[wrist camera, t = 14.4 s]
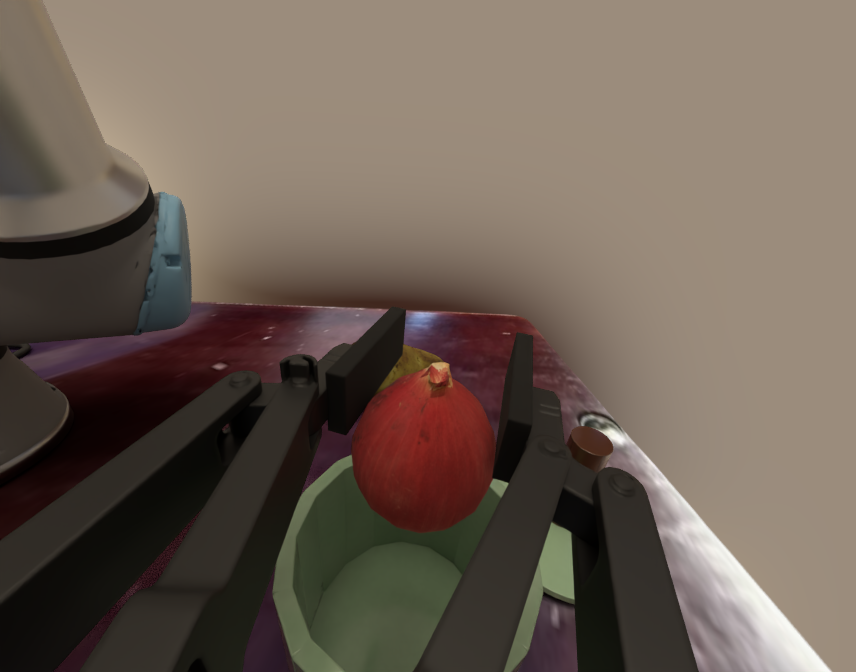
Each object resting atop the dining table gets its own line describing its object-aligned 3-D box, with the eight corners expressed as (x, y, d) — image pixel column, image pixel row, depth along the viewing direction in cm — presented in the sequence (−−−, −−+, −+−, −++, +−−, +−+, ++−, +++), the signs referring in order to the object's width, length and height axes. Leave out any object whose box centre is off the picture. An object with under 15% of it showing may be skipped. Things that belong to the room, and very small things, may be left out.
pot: (301, 554, 25) (289, 454, 21) (459, 523, 29) (480, 432, 24) (283, 847, 15) (248, 786, 10) (535, 745, 18) (602, 662, 13)
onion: (323, 517, 15) (314, 363, 11) (403, 441, 19) (416, 312, 15) (435, 611, 12) (471, 450, 8) (498, 498, 17) (540, 360, 13)
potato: (451, 419, 40) (461, 362, 37) (340, 417, 39) (338, 357, 35) (442, 378, 48) (450, 327, 44) (349, 375, 46) (348, 322, 42)
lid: (459, 468, 34) (475, 391, 29) (574, 452, 38) (604, 380, 33) (525, 634, 23) (569, 549, 18) (682, 587, 26) (751, 506, 22)
